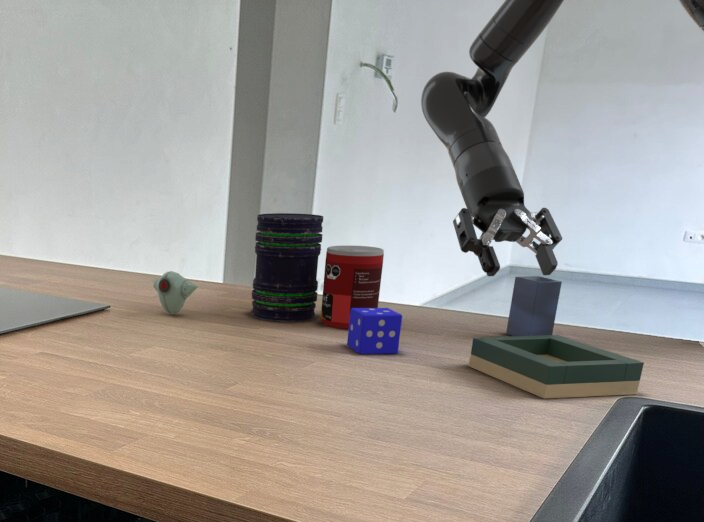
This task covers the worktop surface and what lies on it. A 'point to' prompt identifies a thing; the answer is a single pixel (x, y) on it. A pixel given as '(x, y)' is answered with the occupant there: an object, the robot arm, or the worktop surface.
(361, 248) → the canned food
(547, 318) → the block
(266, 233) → the storage jar
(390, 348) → the die
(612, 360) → the tray
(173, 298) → the robot head
